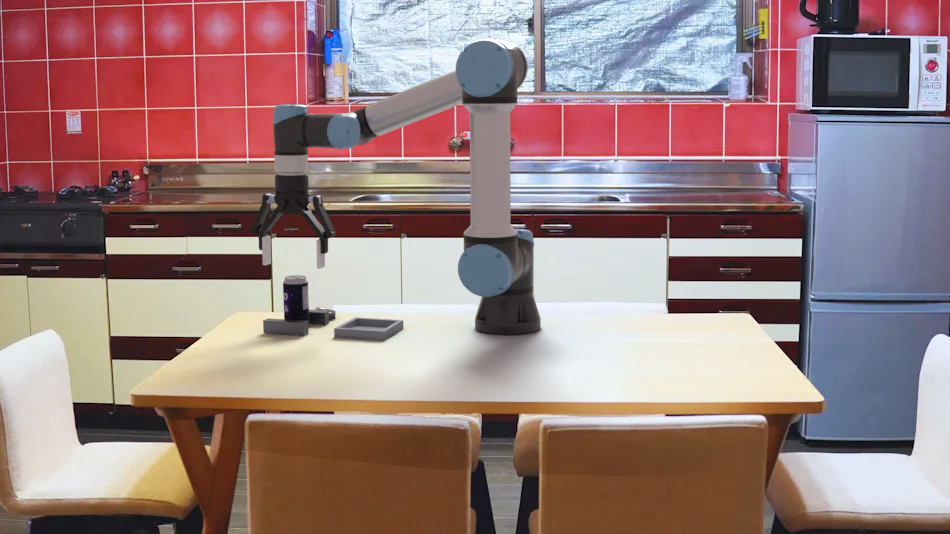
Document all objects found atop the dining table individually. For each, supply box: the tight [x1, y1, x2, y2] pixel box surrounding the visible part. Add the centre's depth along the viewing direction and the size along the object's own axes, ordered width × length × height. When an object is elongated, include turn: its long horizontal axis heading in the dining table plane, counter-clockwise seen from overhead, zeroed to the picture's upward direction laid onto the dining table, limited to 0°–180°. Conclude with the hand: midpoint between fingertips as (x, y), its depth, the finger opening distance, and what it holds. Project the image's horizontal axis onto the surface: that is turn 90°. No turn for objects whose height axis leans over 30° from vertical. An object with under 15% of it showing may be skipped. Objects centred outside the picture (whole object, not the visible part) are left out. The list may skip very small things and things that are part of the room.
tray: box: [333, 316, 404, 341], centre depth 249 cm, size 12×12×2 cm
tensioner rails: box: [262, 306, 337, 337], centre depth 258 cm, size 10×21×3 cm, turn 163°
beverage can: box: [282, 275, 310, 326], centre depth 254 cm, size 6×6×12 cm
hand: (293, 266), depth 252 cm, fingers open, 13 cm apart
